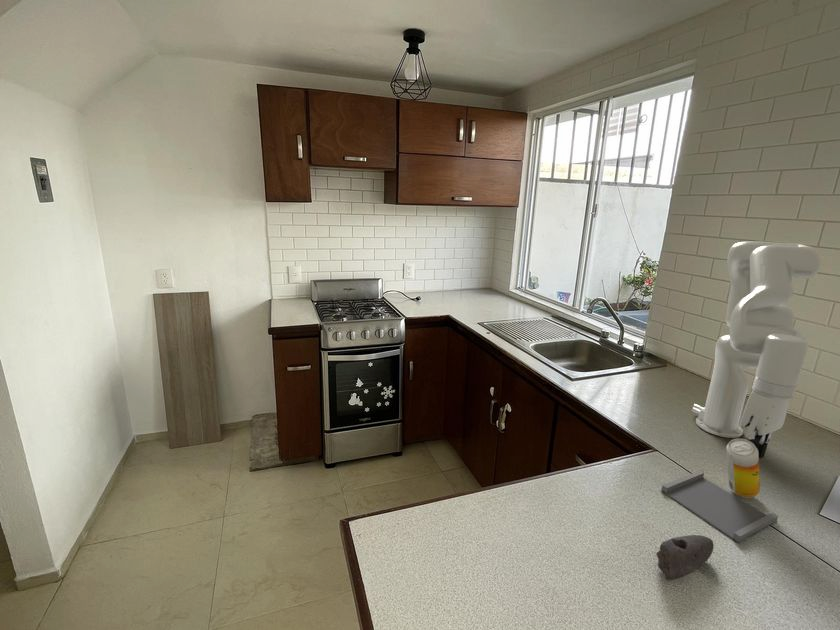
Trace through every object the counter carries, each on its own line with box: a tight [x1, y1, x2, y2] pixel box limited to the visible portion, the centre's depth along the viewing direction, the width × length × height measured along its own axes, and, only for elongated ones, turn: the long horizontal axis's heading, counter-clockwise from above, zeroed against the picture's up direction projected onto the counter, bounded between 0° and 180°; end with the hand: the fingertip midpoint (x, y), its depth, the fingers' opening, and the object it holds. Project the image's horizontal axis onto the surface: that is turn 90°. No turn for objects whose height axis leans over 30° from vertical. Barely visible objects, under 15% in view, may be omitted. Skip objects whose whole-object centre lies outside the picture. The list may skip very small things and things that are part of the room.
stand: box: [660, 470, 779, 544], centre depth 101 cm, size 18×15×2 cm
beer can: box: [726, 438, 761, 498], centre depth 103 cm, size 6×6×15 cm
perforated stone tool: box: [655, 534, 715, 581], centre depth 83 cm, size 15×5×7 cm, turn 111°
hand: (754, 454), depth 103 cm, fingers closed
